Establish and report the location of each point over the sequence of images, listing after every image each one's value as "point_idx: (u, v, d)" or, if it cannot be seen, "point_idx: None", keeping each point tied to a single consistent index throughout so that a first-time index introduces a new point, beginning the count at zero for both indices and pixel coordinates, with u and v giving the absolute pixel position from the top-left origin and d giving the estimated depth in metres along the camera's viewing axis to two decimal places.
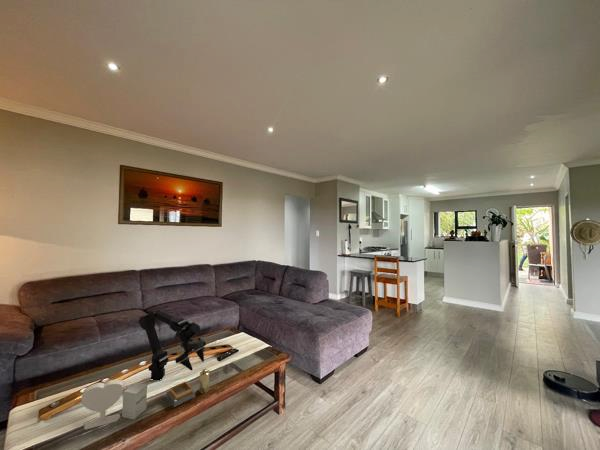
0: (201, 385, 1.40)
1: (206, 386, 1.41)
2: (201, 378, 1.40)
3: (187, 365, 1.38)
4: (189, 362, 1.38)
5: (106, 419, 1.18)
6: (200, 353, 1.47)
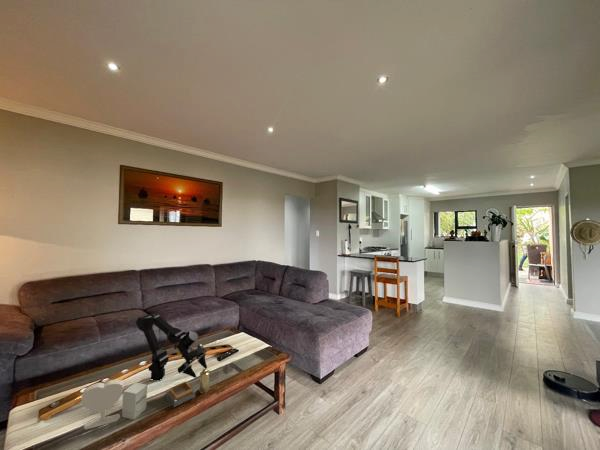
0: (201, 385, 1.40)
1: (206, 386, 1.41)
2: (201, 378, 1.40)
3: (190, 374, 1.38)
4: (192, 370, 1.39)
5: (106, 419, 1.18)
6: (202, 360, 1.49)
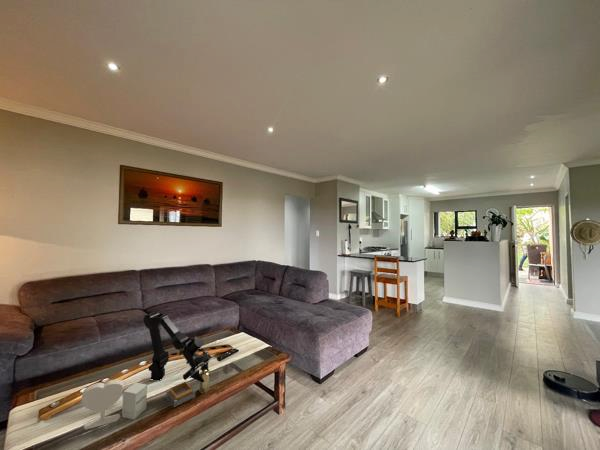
0: (201, 385, 1.40)
1: (206, 386, 1.41)
2: None
3: (198, 378, 1.39)
4: (199, 374, 1.40)
5: (106, 419, 1.18)
6: (205, 368, 1.46)
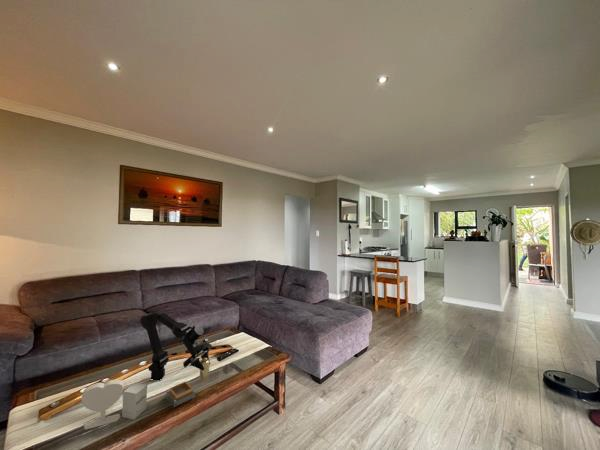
0: (201, 373, 1.40)
1: (206, 374, 1.41)
2: None
3: (198, 366, 1.39)
4: (200, 362, 1.39)
5: (106, 419, 1.18)
6: None
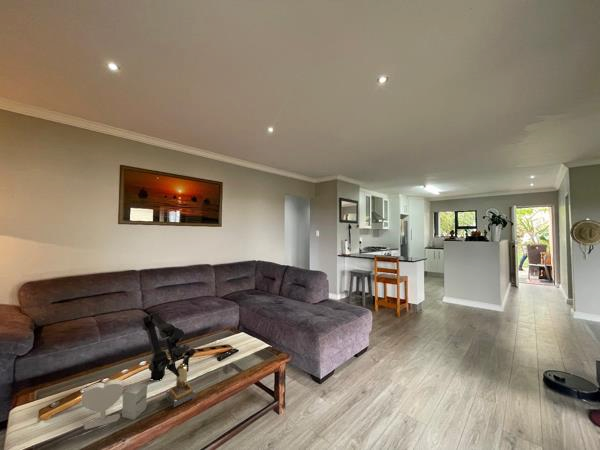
0: (177, 379, 1.34)
1: (182, 381, 1.34)
2: None
3: (173, 371, 1.34)
4: (175, 368, 1.34)
5: (106, 419, 1.18)
6: (185, 362, 1.39)
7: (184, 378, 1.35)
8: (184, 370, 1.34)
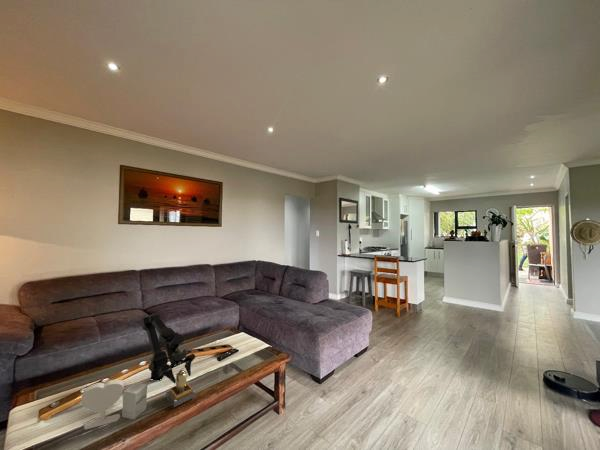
0: (176, 386, 1.34)
1: (181, 388, 1.34)
2: (176, 379, 1.34)
3: (170, 378, 1.33)
4: (172, 374, 1.32)
5: (106, 419, 1.18)
6: (187, 366, 1.40)
7: (183, 385, 1.35)
8: (183, 377, 1.34)
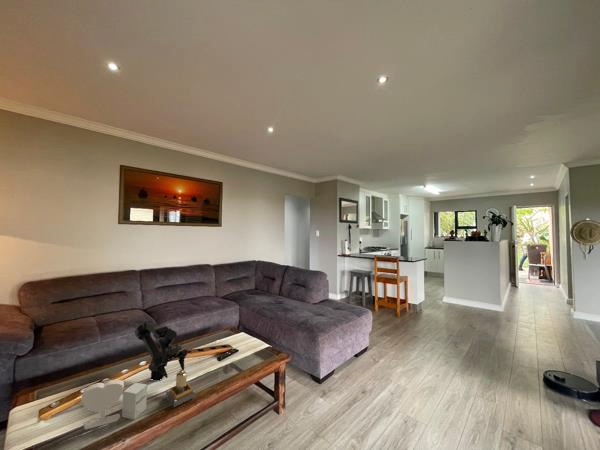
0: (176, 386, 1.34)
1: (181, 388, 1.34)
2: (176, 379, 1.34)
3: (162, 373, 1.37)
4: (164, 369, 1.37)
5: (106, 419, 1.18)
6: (181, 361, 1.45)
7: (184, 385, 1.35)
8: (184, 377, 1.34)
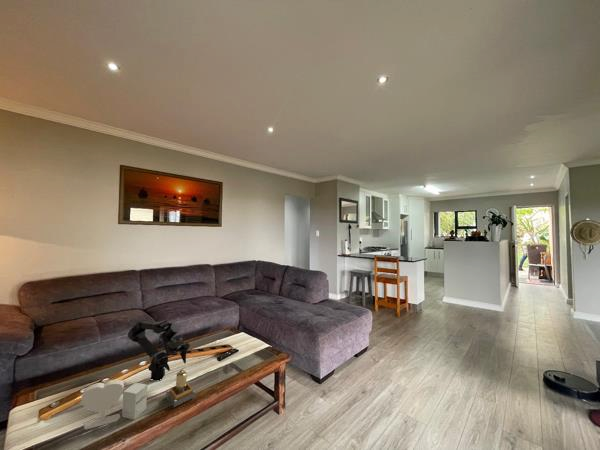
0: (176, 386, 1.34)
1: (181, 388, 1.34)
2: (176, 379, 1.34)
3: (165, 366, 1.38)
4: (166, 362, 1.38)
5: (106, 419, 1.18)
6: (183, 354, 1.47)
7: (184, 385, 1.35)
8: (184, 377, 1.34)
